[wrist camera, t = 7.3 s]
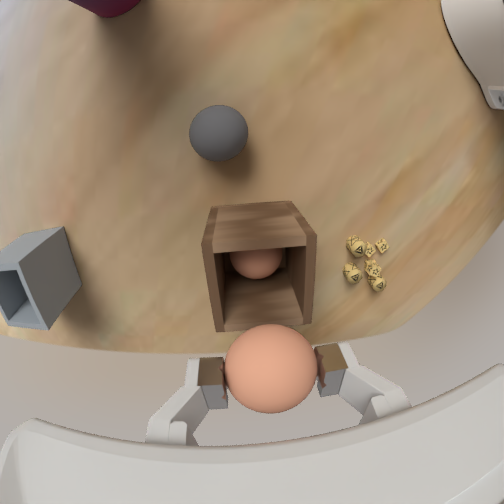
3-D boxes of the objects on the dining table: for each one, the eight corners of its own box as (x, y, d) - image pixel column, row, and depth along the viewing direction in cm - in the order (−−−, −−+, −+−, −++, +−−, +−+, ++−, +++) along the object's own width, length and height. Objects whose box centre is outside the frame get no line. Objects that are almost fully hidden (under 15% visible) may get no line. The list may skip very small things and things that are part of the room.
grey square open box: (63, 226, 21) (18, 262, 14) (82, 284, 24) (48, 330, 17) (23, 234, 21) (-20, 266, 14) (41, 286, 24) (8, 325, 17)
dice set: (375, 282, 26) (383, 292, 25) (332, 279, 26) (339, 289, 24) (391, 238, 24) (401, 246, 22) (347, 231, 24) (355, 239, 22)
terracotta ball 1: (277, 217, 22) (286, 236, 18) (278, 261, 23) (286, 286, 20) (227, 221, 22) (226, 241, 18) (232, 265, 23) (232, 291, 20)
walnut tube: (291, 200, 22) (316, 234, 15) (291, 270, 24) (311, 323, 18) (211, 206, 21) (201, 244, 15) (219, 276, 24) (216, 332, 18)
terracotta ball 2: (308, 301, 12) (335, 366, 8) (303, 360, 14) (321, 421, 10) (218, 310, 12) (216, 381, 8) (228, 368, 13) (231, 432, 10)
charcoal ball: (245, 105, 18) (247, 99, 15) (248, 156, 20) (251, 162, 16) (191, 110, 18) (182, 106, 14) (196, 160, 20) (187, 168, 16)
